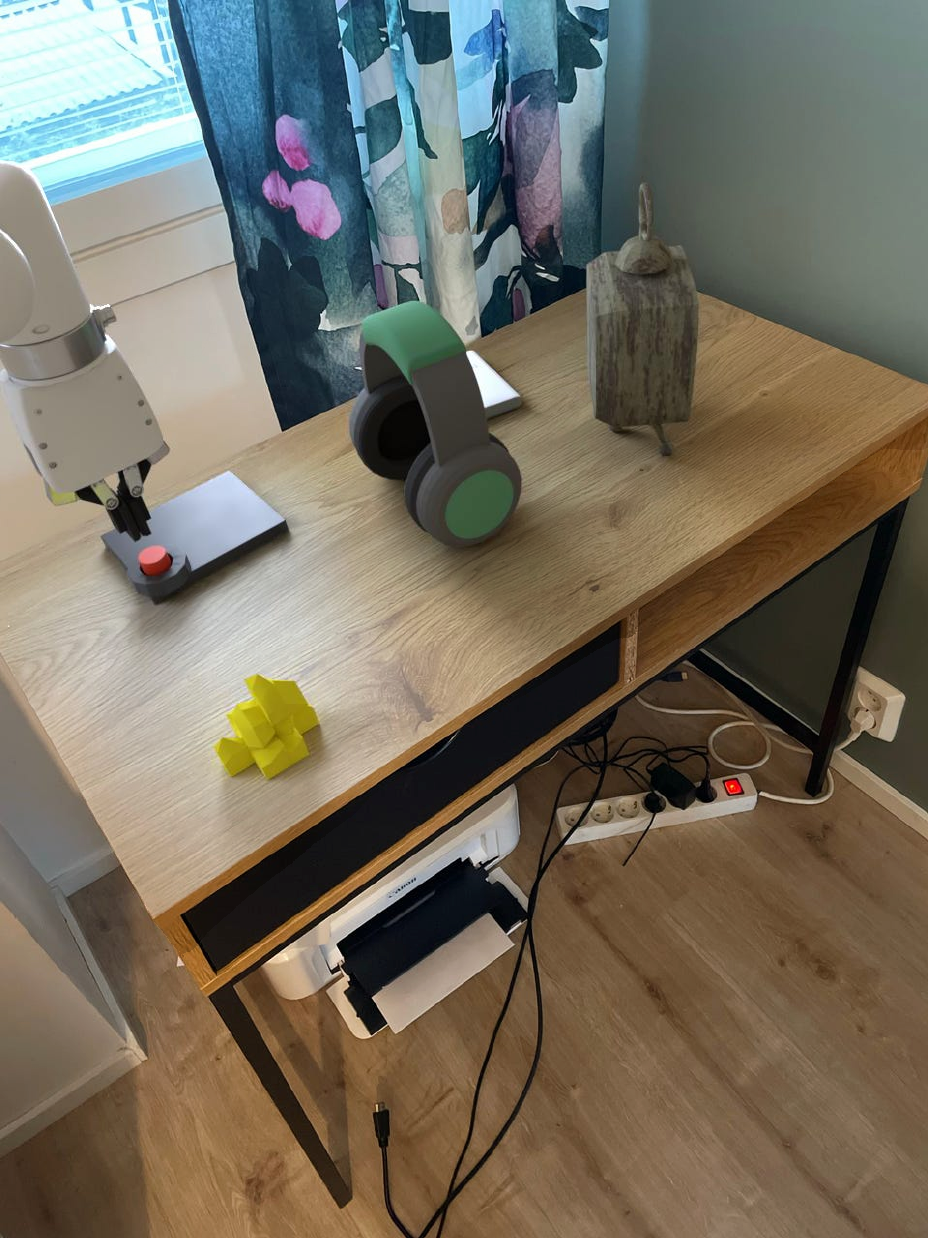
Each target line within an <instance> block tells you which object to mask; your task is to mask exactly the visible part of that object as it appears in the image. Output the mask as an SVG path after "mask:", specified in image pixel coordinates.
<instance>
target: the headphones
mask: <svg viewBox="0 0 928 1238" xmlns="http://www.w3.org/2000/svg"><path fill="white" fill-rule="evenodd" d="M453 327H454V326H452V325H451V323H450V322H449V321H448V320H447V319H446V318H445V317H444V316H443V315H441V314H440V312H439V311H438V310H436V309H435V308H434V307H432V306H431V305H430V304H428V303H426V302H423V301H419V300H411V301H406V302H403V303H400V304H398V305H395V306H391V307H389V308H385V309H384V310H380V311H378V312H375V313H372V314H370V315H368V316H366V317H364V318H363V320H362V322H361V331H360V333H359V341H358V342H359V343H358V344H359V345H358V346H359V348H358V349H359V360H360V361H359V362H360V368H361V374H362V380H363V385H364V388H362V390H361V391H360V392H359V394H358V395H357V397H356V398H355V400H354V402H353V405H352V407H351V410H350V413H349V417H348V432H349V433H348V434H349V437H350V440H351V443H352V445H353V447H354V449H355V451H356V455H357V456H358V457H359V459H360V460H361V462H362V463H363V464H364V465H365V467H367V469H369V470H370V472H372V473H373V474H374V475H377V476H378V477H379V478H384V479H387V480H390V481H391V480H395V481H401V480H402V481H403V480H405V483H404V489H403V494H404V504H405V507H406V511H407V513H408V515H409V516H410V518H411V520H412V521H413V522H414V523H415V525H416V526H417V527H419V529H421V530H422V532H424V533H426V534H427V535H429V536H430V537H432V538H433V539H434V540H436V541H437V542H439V543H441V544H443V545H446V546H450V547H468V546H474V545H477V544H479V543H482V542H485V541H486V540H488V539H490V538H491V537H492V536H495V534H497V533H498V532H500V530H502V528H503V527H505V526H506V524H507V523H508V522H509V520H510V519H511V518H512V516H513V515H514V513H515V511H516V510H517V507H518V504H519V502H520V499H521V494H522V485H523V484H522V480H523V478H522V473H521V469H520V467H519V465H518V463H517V461H516V459H515V458H514V457H513V456H512V454H511V453H510V451H509V449H508V448H507V446H506V445H505V444H504V443H503V442H502V441H501V440H500V439H499V437H497V436H495V435H494V434H492V433H491V432H490V431H489V424H488V419H487V418H486V412H485V408H484V403H483V399H482V395H481V392H480V388H479V385H478V382H477V379H476V376H475V373H474V371H473V368H472V366H471V363H470V361H469V359H468V357H467V353H466V352H467V348H466V346H465V342H464V341H463V340H462V339H461V336H460V335H459V334H458V332H457V331H456V329H454V328H453Z"/></svg>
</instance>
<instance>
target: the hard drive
mask: <svg viewBox="0 0 928 1238" xmlns="http://www.w3.org/2000/svg"><path fill="white" fill-rule="evenodd" d="M466 353H467V357H468V359H469V361H470V363H471V366H472V368H473V371H474V373H475V376H476V379H477V382H478V385H479V388H480V392H481V395H482V399H483V403H484V408H485V412H486V418H487V420H489V419H492V418H495V417H497V416H500V415H503V414H505V413H509V412H511V411H514V410H516V409H519V408H520V407H522V405H523V403H522V396H521V395H520V394H519V393H518V391H516V390H515V389H514V388H513V387H512V386H511V385H510V384H509V383H508V382H507V381H506V380H505V379H503V378H502V376H500V375H499V373H497V372H496V371H495V369H494V368H492V367H491V366H490V365H489V364H488V363H487V362H486V361H485V360H484V359H483V358H482V357H481V356H480V355H479V354H478V353H477V352H476V351H475V350H468V351H467V350H466Z"/></svg>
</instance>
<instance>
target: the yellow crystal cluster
mask: <svg viewBox="0 0 928 1238" xmlns="http://www.w3.org/2000/svg"><path fill="white" fill-rule="evenodd" d="M243 680H244V682H245V684H246V687H247V689H248V691H249V693H250V695H251V697H252V699H250V700H246V701H242V702H238V703H236V704H235V706H234V709H232V710H230V711H229V712H227V713H226V714H225V716H226V718H227V720H228V722H229V725H230V727H231V728H232V731H233V733H234V734H235V737H227V736H222V737H220V738H219V740H218V741H217V742H216V743H215V744H214V745H213V749H214V751H215V753H216V755H217V756H218V759H219V760H220V763H221V765H222V766H223V767H224V769H225V771H226V773H228V775H229V776H230V778H232V777H234V776H235V775H237V774H239V773H241V772H243V771H245V769H247V768H249V767H250V766H252V765H254V764H255V765H256V766H257V768H258V769H259V770H260V772H261V774H262V775H263V776H264V778H265V779H266V780H267V781H269V780H270V779H272V778H273V777H275V776H277V775H279V774H280V773H283V771H285V770H287V769H288V768H290V767H291V766H293V765H295V764H296V763H298V762H300V761H301V760H303V759H304V758H306V757H307V756H309V755H310V753H309V750H308V748H307V745H306V743H305V740H304V737H303V736H302V735H303V734H305V733H307V732H308V731H310V730H312V729H314V728H315V727H316V726H318V725H320V721H319V718H318V716H317V713H316V710H315V707H313V706H312V705H311V704H310V703H309V702H308V701H307V700H306V698H305V696H304V695H303V692H302V691H301V689H300V688H299V686H298V684H297V683H296V681H295V680H289V679H288V680H286V679H277V678H276V679H275V678H268V677H265V676H263V675H261V674H258V673H255V674H253V675H251V676H248V677H246V678H244V679H243Z"/></svg>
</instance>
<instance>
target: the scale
mask: <svg viewBox="0 0 928 1238" xmlns="http://www.w3.org/2000/svg"><path fill="white" fill-rule="evenodd" d="M148 511H149V514H150V516H151V519H150V520H148V521H146V522H147V524H148V527H149V529H150V531H151V534H150V535H148V536H142V534H141V533H140V534H141V536H142V537H141V538H140V540H138V541H136V542H134V540H133V539H132V538H131V537H130V536H129V535H128V534H127V533H126V531H125V532H123V533H121V534H120V533H119V532H118V531H117V530H116V528H115V527H114V528H113V529H111V530H109V531H107V532H105V533H104V534H101V535H100V538H101V541H102V542H103V545H104V546H105V547H106V549H107V551H109V552H110V553H111V555H112V556H113V557H114V558H115V559H116V561H117V562H118V563H119V565H121V566H122V568H123V569H124V570H125V571H126V577H127V579H128V581H129V582H130V584H131V586H132V588H133V589H134V591H136V593H137V594H138V595H140V596H141V595H142V596H146V597H148V599H149V600H150V601H151V602H152V603H153V605H158V604H160V603H161V602H163V601H165V600H166V599H168V598H170V597H172V596H174V595H176V594H177V593H179V592H181V591H183V590H185V589H186V588H188V587H190V586H191V585H193V584H195V583H197V582H199V581H200V580H202V579H204V578H206V577H209V576H210V575H211V574H213V573H215V572H217V571H218V570H220V569H223V568H224V567H226V566H228V565H229V564H231V563H233V562H235V561H237V560H239V559H241V558H242V557H244V556H246V555H248V554H249V553H252V552H253V551H255V550H257V549H258V548H260V547H262V546H264V545H265V544H267V543H269V542H271V541H273V540H274V539H276V538H278V537H280V536H282V535H283V534H285V533H287V532H289V531H290V527H289V525H288V522H287V519H286V518H284V517H283V515H281V514H280V513H278V511H277V510H275V509H274V508H273V507H272V506H271V505H270V504H269V503H268V502H266V500H264V499H263V498H262V497H261V496H259V495H258V494H257V493H256V492H255V491H254V490H252V489H251V488H250V487H249V486H248V485H247V484H246V483H245V482H243V481H242V480H241V479H240V478H239V477H238V476H237V475H235V474H234V473H233V472H232V471H231V470H227V471H224V472H223V473H221V474H219V475H217V476H214V477H213V478H211V479H209V480H207V481H205V482H203V483H202V484H200V485H198V486H195V487H194V488H191V489H190V490H187V491H186V492H184V493H182V494H180V495H178V496H176V497H174V498H172V499H170V500H168V501H166V502H164V503H162V504H160V505H158V506H156V507H154V508H152V509H150V510H148ZM151 546H162V547H164V548H165V549H166V552H167V554H168V556H169V558H170V560H171V566H170V568H169V569H168V570H167V571H165V572H163V573H161V574H159V575H154V576H149V575H147V574H145V572H144V571H143V568H142V566H141V564H140V562H139V560H138V557H139V554H140V553H141V552H142V551H143V550H145V549H146V548H148V547H151Z"/></svg>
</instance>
